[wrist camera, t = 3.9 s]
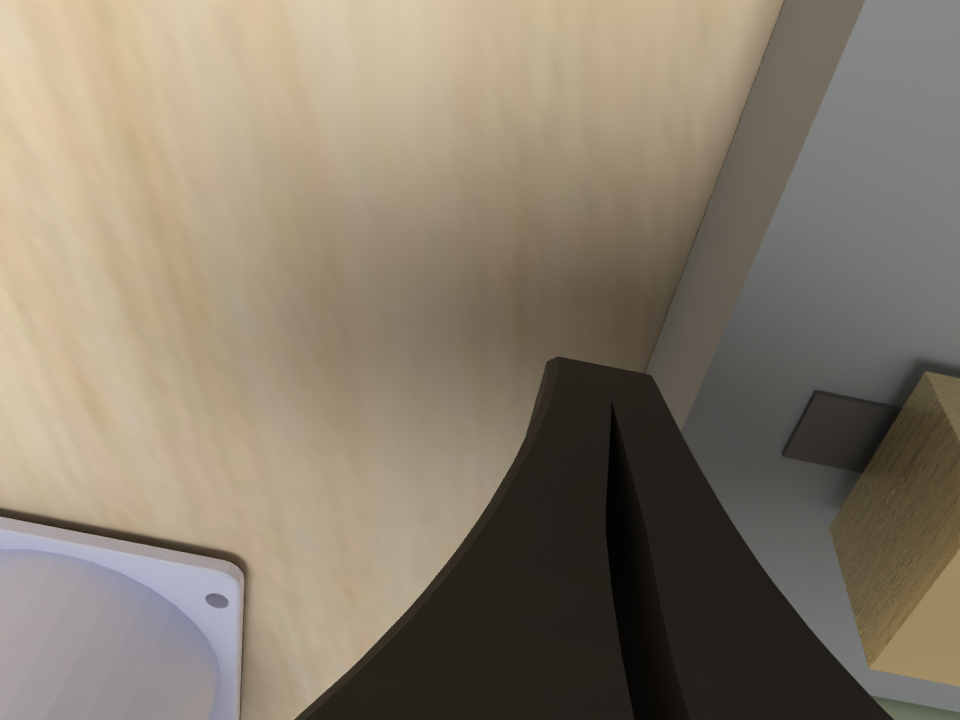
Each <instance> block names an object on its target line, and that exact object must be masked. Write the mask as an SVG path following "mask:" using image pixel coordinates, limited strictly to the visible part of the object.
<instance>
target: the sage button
mask: <svg viewBox="0 0 960 720" xmlns="http://www.w3.org/2000/svg"><path fill="white" fill-rule="evenodd" d="M870 696H871V697H872V698H873V699H874V700H875V701H876V702H877V703H878V704H879V705H880V706H881V707H882V708H883V709H884V710H885V711H886V712H887V713H888V714H889V715H890V716H891V717H892V718H893V719H894V720H960V712H954V711H949V710H944V709H939V708H934V707H929V706H924V705H918V704H913V703H908V702H903V701H898V700H893V699H888V698H882V697H877V696H872V695H870Z"/></svg>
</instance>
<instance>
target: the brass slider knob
mask: <svg viewBox="0 0 960 720" xmlns="http://www.w3.org/2000/svg"><path fill="white" fill-rule="evenodd" d="M829 530H830V533H831V537H832V540H833V544H834V547H835V551H836V554H837V558H838V561H839V565H840V568H841V572H842V576H843V579H844V583H845V586H846V590H847V593H848V597H849V600H850V604H851V607H852V611H853V615H854V618H855V622H856V625H857V629H858V632H859V636H860V639H861V643H862V646H863V650H864V654H865V657H866V661H867V664H868V668H869V669H872V670H877V671H882V672H887V673H893V674H898V675H903V676H908V677H913V678H918V679H923V680H928V681H934V682H939V683H944V684H949V685H954V686H959V687H960V378H956V377H952V376H947V375H942V374H937V373H932V372H927V371H925V372H924V374H923V376H922V377H921V379H920V381H919V382H918V384H917V385H916V387H915V389H914V390H913V392H912V394H911V395H910V397H909V398H908V400H907V402H906V403H905V405H904V407H903V408H902V410H901V411H900V413H899V415H898V416H897V418H896V420H895V421H894V423H893V424H892V426H891V428H890V429H889V431H888V433H887V434H886V436H885V437H884V439H883V441H882V442H881V444H880V446H879V447H878V449H877V450H876V452H875V454H874V455H873V457H872V459H871V460H870V462H869V463H868V465H867V467H866V468H865V470H864V472H863V473H862V475H861V476H860V478H859V480H858V481H857V483H856V485H855V486H854V488H853V489H852V491H851V493H850V494H849V496H848V498H847V499H846V501H845V502H844V504H843V506H842V507H841V509H840V511H839V512H838V514H837V515H836V517H835V519H834V520H833V522H832V524H831V525H830V527H829Z"/></svg>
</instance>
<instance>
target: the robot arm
mask: <svg viewBox="0 0 960 720" xmlns="http://www.w3.org/2000/svg"><path fill="white" fill-rule="evenodd" d="M243 602H244V576H243V573H242V571H241V570H240V569H239V568H238V567H237V566H236V565H234V564H233V563H231V562H228V561H225V560H221V559H216V558H211V557H206V556H201V555H196V554H190V553H185V552H180V551H175V550H170V549H165V548H160V547H154V546H149V545H144V544H139V543H134V542H129V541H124V540H118V539H113V538H108V537H103V536H98V535H93V534H88V533H82V532H77V531H72V530H67V529H62V528H57V527H52V526H46V525H41V524H36V523H31V522H26V521H21V520H16V519H10V518H5V517H0V720H239V714H240V686H241V658H242V630H243ZM294 720H894V719H893V718H892V717H891V716H890V715H889V714H888V713H887V712H886V711H885V710H884V709H883V708H882V707H881V706H880V705H879V704H878V703H877V702H876V701H875V700H874V699H873V698H872V697H871V696H870V695H869V694H868V692H867V691H866V690H865V689H864V688H863V687H862V686H861V685H860V684H859V683H858V682H857V681H856V679H855V678H854V677H853V676H852V675H851V674H850V673H849V672H848V671H847V670H846V669H845V668H844V666H843V665H842V664H841V663H840V662H839V661H838V660H837V659H836V658H835V657H834V656H833V654H832V653H831V652H830V651H829V650H828V649H827V648H826V646H825V645H824V644H823V643H822V642H821V641H820V639H819V638H818V637H817V636H816V635H815V634H814V632H813V631H812V630H811V629H810V628H809V627H808V625H807V624H806V623H805V622H804V620H803V619H802V618H801V616H800V615H799V614H798V613H797V611H796V610H795V609H794V608H793V606H792V605H791V604H790V603H789V601H788V600H787V599H786V597H785V596H784V595H783V594H782V592H781V591H780V590H779V589H778V587H777V586H776V585H775V584H774V582H773V581H772V579H771V578H770V577H769V575H768V574H767V573H766V571H765V570H764V569H763V567H762V566H761V564H760V563H759V562H758V560H757V559H756V557H755V556H754V554H753V553H752V551H751V550H750V548H749V547H748V545H747V544H746V542H745V541H744V539H743V538H742V536H741V535H740V533H739V532H738V530H737V529H736V527H735V525H734V524H733V522H732V521H731V519H730V517H729V516H728V514H727V513H726V511H725V509H724V508H723V506H722V504H721V503H720V501H719V499H718V498H717V496H716V494H715V492H714V491H713V489H712V487H711V486H710V484H709V482H708V480H707V479H706V477H705V475H704V474H703V472H702V470H701V468H700V467H699V465H698V463H697V461H696V459H695V458H694V456H693V454H692V452H691V450H690V448H689V446H688V445H687V443H686V441H685V439H684V437H683V435H682V433H681V431H680V429H679V427H678V425H677V424H676V422H675V420H674V418H673V416H672V414H671V412H670V410H669V408H668V406H667V404H666V402H665V400H664V398H663V396H662V394H661V392H660V390H659V388H658V386H657V384H656V382H655V381H654V379H653V377H652V376H651V375H648V374H643V373H638V372H633V371H628V370H623V369H618V368H613V367H608V366H603V365H598V364H593V363H588V362H583V361H578V360H573V359H568V358H563V357H555V358H553V359H551V360H549V361H547V363H546V367H545V370H544V374H543V377H542V381H541V385H540V388H539V392H538V395H537V399H536V402H535V406H534V409H533V413H532V416H531V420H530V423H529V427H528V430H527V434H526V437H525V439H524V442H523V444H522V446H521V448H520V450H519V452H518V454H517V456H516V458H515V460H514V462H513V464H512V465H511V467H510V469H509V471H508V472H507V474H506V476H505V477H504V479H503V481H502V482H501V484H500V486H499V488H498V489H497V491H496V493H495V494H494V496H493V498H492V499H491V501H490V503H489V504H488V506H487V507H486V509H485V510H484V512H483V513H482V515H481V517H480V518H479V520H478V521H477V522H476V524H475V525H474V527H473V528H472V530H471V531H470V533H469V534H468V535H467V537H466V538H465V539H464V541H463V542H462V544H461V545H460V546H459V548H458V549H457V550H456V552H455V553H454V554H453V556H452V557H451V558H450V560H449V561H448V562H447V563H446V565H445V566H444V567H443V568H442V570H441V571H440V572H439V573H438V575H437V576H436V577H435V578H434V580H433V581H432V582H431V583H430V585H429V586H428V587H427V588H426V589H425V591H424V592H423V593H422V594H421V595H420V596H419V598H418V599H417V600H416V601H415V602H414V603H413V605H412V606H411V607H410V608H409V609H408V610H407V611H406V612H405V613H404V614H403V615H402V617H401V618H400V619H399V620H398V621H397V622H396V623H395V624H394V625H393V626H392V627H391V628H390V629H389V630H388V631H387V632H386V633H385V634H384V635H383V636H382V637H381V639H380V640H379V641H378V642H377V643H376V644H375V645H374V646H373V647H372V648H371V649H370V650H369V651H368V652H367V653H366V654H365V655H364V656H363V657H362V658H361V659H360V660H359V661H358V662H357V663H356V664H355V665H354V666H353V667H352V668H351V669H350V670H349V671H348V672H347V673H346V674H344V675H343V676H342V677H341V678H340V679H339V680H338V681H337V682H336V683H334V684H333V685H332V686H331V687H330V688H329V689H328V690H327V691H326V692H324V693H323V694H322V695H321V696H320V697H319V698H318V699H317V700H315V701H314V702H313V703H312V704H311V705H310V706H309V707H308V708H307V709H305V710H304V711H303V712H302V713H301V714H300V715H299V716H298V717H297V718H296V719H294Z"/></svg>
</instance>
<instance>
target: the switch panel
mask: <svg viewBox="0 0 960 720" xmlns="http://www.w3.org/2000/svg"><path fill="white" fill-rule="evenodd" d="M925 371H927V372H932V373H937V374H942V375H947V376H952V377H956V378H960V0H785V1H784V4H783V7H782V9H781V12H780V15H779V17H778V20H777V23H776V25H775V28H774V31H773V33H772V36H771V39H770V41H769V44H768V47H767V49H766V52H765V55H764V57H763V60H762V63H761V65H760V68H759V71H758V73H757V76H756V79H755V81H754V84H753V87H752V89H751V92H750V95H749V97H748V100H747V103H746V105H745V108H744V111H743V113H742V116H741V119H740V121H739V124H738V127H737V129H736V132H735V135H734V137H733V140H732V143H731V145H730V148H729V151H728V153H727V156H726V159H725V161H724V164H723V167H722V169H721V172H720V175H719V177H718V180H717V183H716V185H715V188H714V191H713V193H712V196H711V199H710V201H709V204H708V207H707V209H706V212H705V215H704V217H703V220H702V223H701V225H700V228H699V231H698V233H697V236H696V239H695V241H694V244H693V247H692V249H691V252H690V255H689V257H688V260H687V263H686V265H685V268H684V271H683V273H682V276H681V279H680V281H679V284H678V287H677V289H676V292H675V295H674V297H673V300H672V303H671V305H670V308H669V311H668V313H667V316H666V319H665V321H664V324H663V327H662V329H661V332H660V335H659V337H658V340H657V343H656V345H655V348H654V351H653V353H652V356H651V359H650V361H649V364H648V367H647V369H646V372H645V374H648V375H651V376H652V377H653V379H654V381H655V382H656V384H657V386H658V388H659V390H660V392H661V394H662V396H663V398H664V400H665V402H666V404H667V406H668V408H669V410H670V412H671V414H672V416H673V418H674V420H675V422H676V424H677V425H678V427H679V429H680V431H681V433H682V435H683V437H684V439H685V441H686V443H687V445H688V446H689V448H690V450H691V452H692V454H693V456H694V458H695V459H696V461H697V463H698V465H699V467H700V468H701V470H702V472H703V474H704V475H705V477H706V479H707V480H708V482H709V484H710V486H711V487H712V489H713V491H714V492H715V494H716V496H717V498H718V499H719V501H720V503H721V504H722V506H723V508H724V509H725V511H726V513H727V514H728V516H729V517H730V519H731V521H732V522H733V524H734V525H735V527H736V529H737V530H738V532H739V533H740V535H741V536H742V538H743V539H744V541H745V542H746V544H747V545H748V547H749V548H750V550H751V551H752V553H753V554H754V556H755V557H756V559H757V560H758V562H759V563H760V564H761V566H762V567H763V569H764V570H765V571H766V573H767V574H768V575H769V577H770V578H771V579H772V581H773V582H774V584H775V585H776V586H777V587H778V589H779V590H780V591H781V592H782V594H783V595H784V596H785V597H786V599H787V600H788V601H789V603H790V604H791V605H792V606H793V608H794V609H795V610H796V611H797V613H798V614H799V615H800V616H801V618H802V619H803V620H804V622H805V623H806V624H807V625H808V627H809V628H810V629H811V630H812V631H813V632H814V634H815V635H816V636H817V637H818V638H819V639H820V641H821V642H822V643H823V644H824V645H825V646H826V648H827V649H828V650H829V651H830V652H831V653H832V654H833V656H834V657H835V658H836V659H837V660H838V661H839V662H840V663H841V664H842V665H843V666H844V668H845V669H846V670H847V671H848V672H849V673H850V674H851V675H852V676H853V677H854V678H855V679H856V681H857V682H858V683H859V684H860V685H861V686H862V687H863V688H864V689H865V690H866V691H867V692H868V694H869V695H872V696H877V697H882V698H888V699H893V700H898V701H903V702H908V703H913V704H918V705H924V706H929V707H934V708H939V709H944V710H949V711H954V712H960V687H959V686H954V685H949V684H944V683H939V682H934V681H928V680H923V679H918V678H913V677H908V676H903V675H898V674H893V673H887V672H882V671H877V670H872V669H869V668H868V664H867V661H866V657H865V654H864V650H863V646H862V643H861V639H860V636H859V632H858V629H857V625H856V622H855V618H854V615H853V611H852V607H851V604H850V600H849V597H848V593H847V590H846V586H845V583H844V579H843V576H842V572H841V568H840V565H839V561H838V558H837V554H836V551H835V547H834V544H833V540H832V537H831V533H830V530H829V527H830V525H831V524H832V522H833V520H834V519H835V517H836V515H837V514H838V512H839V511H840V509H841V507H842V506H843V504H844V502H845V501H846V499H847V498H848V496H849V494H850V493H851V491H852V489H853V488H854V486H855V485H856V483H857V481H858V480H859V478H860V476H861V475H862V473H863V472H864V470H865V468H866V467H867V465H868V463H869V462H870V460H871V459H872V457H873V455H874V454H875V452H876V450H877V449H878V447H879V446H880V444H881V442H882V441H883V439H884V437H885V436H886V434H887V433H888V431H889V429H890V428H891V426H892V424H893V423H894V421H895V420H896V418H897V416H898V415H899V413H900V411H901V410H902V408H903V407H904V405H905V403H906V402H907V400H908V398H909V397H910V395H911V394H912V392H913V390H914V389H915V387H916V385H917V384H918V382H919V381H920V379H921V377H922V376H923V374H924V372H925Z"/></svg>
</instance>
